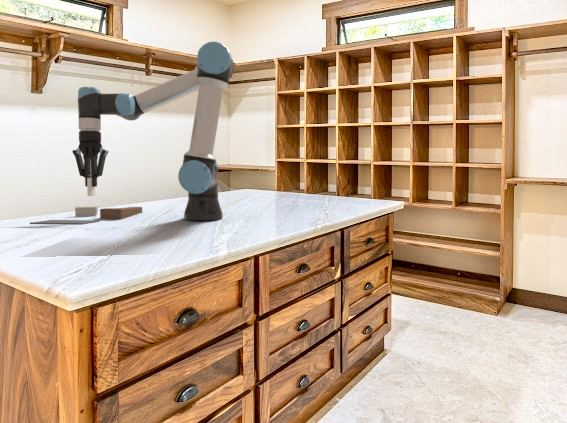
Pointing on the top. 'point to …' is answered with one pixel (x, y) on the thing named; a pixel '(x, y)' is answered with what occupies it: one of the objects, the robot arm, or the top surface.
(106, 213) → the wooden block
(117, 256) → the top surface
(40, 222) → the charcoal mat
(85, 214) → the smooth beige box
